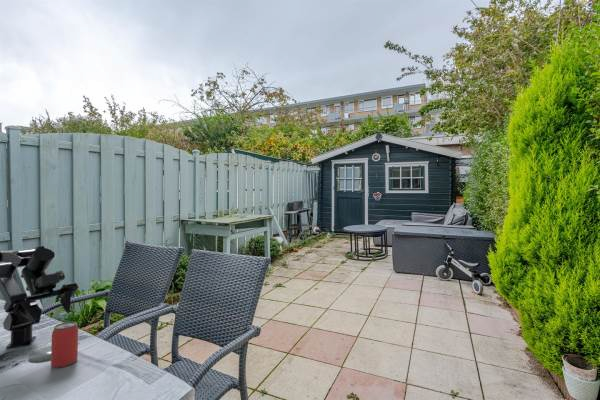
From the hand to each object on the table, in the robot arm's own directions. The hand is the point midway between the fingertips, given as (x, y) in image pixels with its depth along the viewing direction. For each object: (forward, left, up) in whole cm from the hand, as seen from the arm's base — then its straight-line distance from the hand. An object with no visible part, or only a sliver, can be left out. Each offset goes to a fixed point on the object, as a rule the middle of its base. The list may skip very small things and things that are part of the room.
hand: (52, 317), depth 97 cm
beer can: (+6, +5, -13) cm, 15 cm away
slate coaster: (-3, -1, -13) cm, 14 cm away
